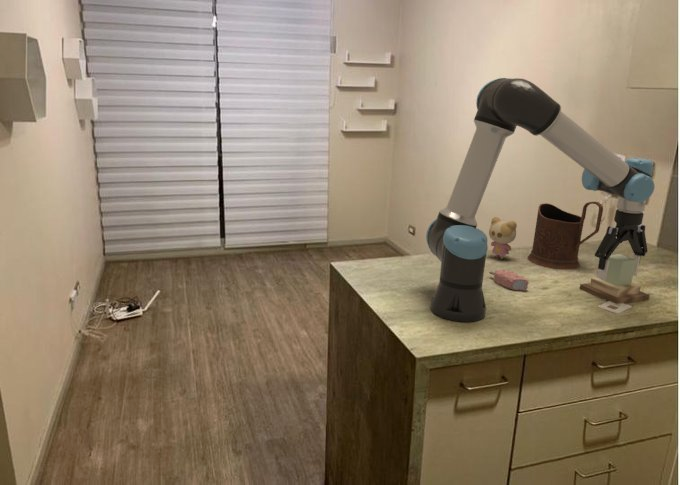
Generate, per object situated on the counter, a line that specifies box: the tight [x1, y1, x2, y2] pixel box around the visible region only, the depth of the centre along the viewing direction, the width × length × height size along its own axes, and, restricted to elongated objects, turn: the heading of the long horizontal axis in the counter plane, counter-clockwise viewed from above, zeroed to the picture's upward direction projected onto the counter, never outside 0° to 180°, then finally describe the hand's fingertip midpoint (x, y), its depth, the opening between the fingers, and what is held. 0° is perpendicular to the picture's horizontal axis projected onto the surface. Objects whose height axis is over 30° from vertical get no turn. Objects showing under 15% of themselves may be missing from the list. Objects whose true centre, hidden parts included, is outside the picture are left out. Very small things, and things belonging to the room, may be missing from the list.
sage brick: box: [605, 253, 636, 286], centre depth 168 cm, size 6×6×8 cm
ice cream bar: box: [488, 269, 530, 292], centre depth 174 cm, size 6×4×15 cm
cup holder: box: [526, 201, 604, 271], centre depth 195 cm, size 18×24×25 cm
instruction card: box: [597, 301, 633, 315], centre depth 160 cm, size 9×6×1 cm, turn 129°
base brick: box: [579, 277, 650, 304], centre depth 170 cm, size 14×14×4 cm
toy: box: [488, 216, 518, 260], centre depth 199 cm, size 10×8×15 cm
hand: (616, 276), depth 169 cm, fingers open, 13 cm apart
